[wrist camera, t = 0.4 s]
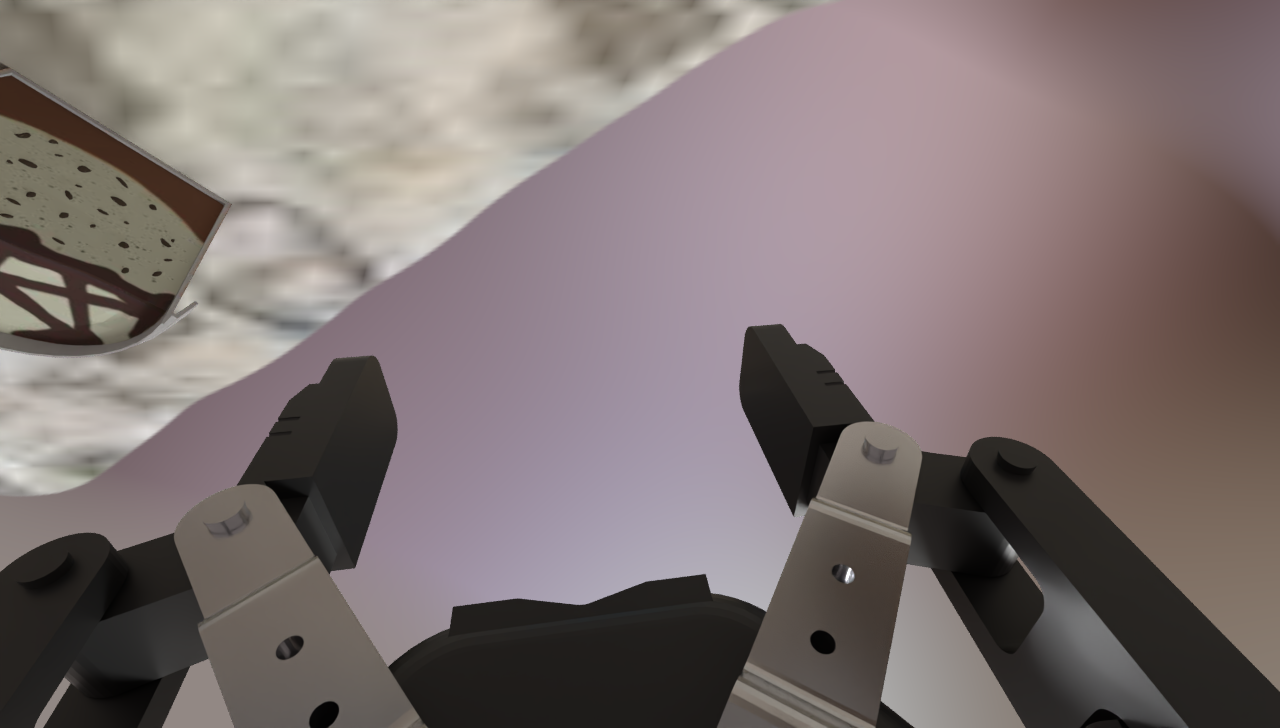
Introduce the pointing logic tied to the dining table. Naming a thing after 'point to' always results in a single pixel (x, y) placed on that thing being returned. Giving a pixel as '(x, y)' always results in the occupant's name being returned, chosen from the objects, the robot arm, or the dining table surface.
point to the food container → (89, 231)
